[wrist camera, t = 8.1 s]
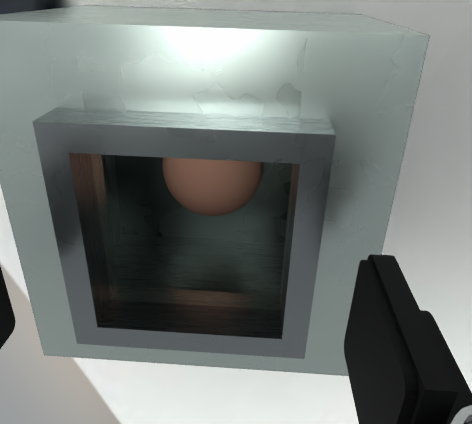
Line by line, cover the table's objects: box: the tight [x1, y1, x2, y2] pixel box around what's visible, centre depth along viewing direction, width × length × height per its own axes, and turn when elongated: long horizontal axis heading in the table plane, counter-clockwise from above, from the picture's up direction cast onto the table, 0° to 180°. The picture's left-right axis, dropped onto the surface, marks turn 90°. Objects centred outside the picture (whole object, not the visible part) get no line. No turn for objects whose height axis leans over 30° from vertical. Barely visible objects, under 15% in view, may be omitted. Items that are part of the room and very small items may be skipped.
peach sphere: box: [163, 157, 263, 216], centre depth 19 cm, size 4×4×4 cm
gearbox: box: [0, 5, 430, 376], centre depth 17 cm, size 12×14×10 cm
